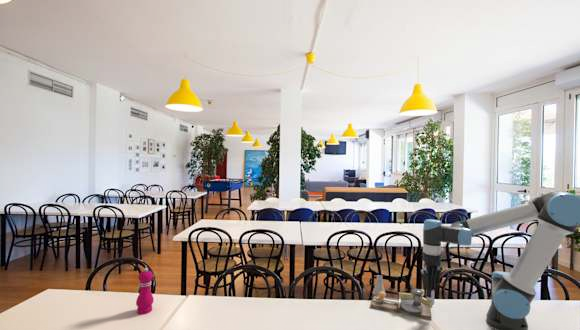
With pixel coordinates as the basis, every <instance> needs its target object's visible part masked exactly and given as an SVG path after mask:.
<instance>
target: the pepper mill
mask: <svg viewBox="0 0 580 330" xmlns="http://www.w3.org/2000/svg"><path fill="white" fill-rule="evenodd" d="M153 278H154V274H153V272H152V271H151V270H149V268H148V267H144V268H143V271H141V272H140V273H139V275H138V281H139V287H140V288H139V294H138V296H137V298H136V301H135V305H136V308H137V309H136V312H137V314H138V315H146V314H149V313H151V312H152V310H153V304H154V297H153V293H152V291H151V285H152V279H153Z"/></svg>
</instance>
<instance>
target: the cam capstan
mask: <svg viewBox="0 0 580 330" xmlns="http://www.w3.org/2000/svg"><path fill="white" fill-rule="evenodd" d="M424 296H425V289H424V288H421V289H420V288H412V289H411V292H399V291H398V299H401V300H402V301H401V302H400V308H401V309H402V310H403V311H405V312H408V313H412V314H420V313H422V312H423V306H422V304H424V305H425V306H427V307H429V308H431V309H433V305H432V304H433V302H431V301H429V300H427V297H426V298H425V297H424Z"/></svg>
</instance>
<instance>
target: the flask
mask: <svg viewBox="0 0 580 330" xmlns="http://www.w3.org/2000/svg"><path fill="white" fill-rule="evenodd" d="M380 291H383V292H384V293H385V297H386V296H387V293H386V290H385V286H384V284H383V275H382V274H381V275H379V274H377V275H376V283H375V285H374V287H373V290H372V291H371V292H372V295H373V296H374V295H378V293H379V292H380Z"/></svg>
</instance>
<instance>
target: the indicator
mask: <svg viewBox="0 0 580 330" xmlns="http://www.w3.org/2000/svg"><path fill="white" fill-rule="evenodd" d="M385 293H386V292H385ZM385 293H384V292H383V291H380V292H379V293H378V296H379V298H381V299H380V300H381V301H386V302H391V303H394V304H397V305H398V308H400V302H401V300H402V299H399V298H398V299H399V301H395V300H390V299H385V297H386V296H385Z"/></svg>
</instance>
